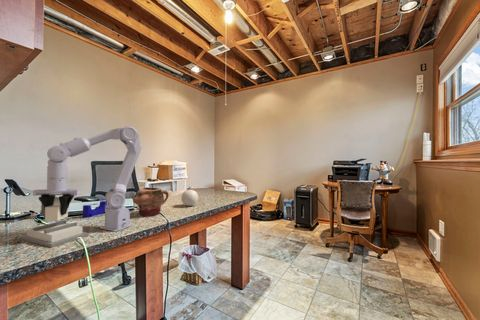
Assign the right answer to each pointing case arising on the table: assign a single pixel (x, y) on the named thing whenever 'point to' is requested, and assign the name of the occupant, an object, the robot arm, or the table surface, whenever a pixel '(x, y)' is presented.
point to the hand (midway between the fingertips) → (56, 214)
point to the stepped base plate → (54, 234)
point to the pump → (54, 213)
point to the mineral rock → (56, 201)
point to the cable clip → (98, 210)
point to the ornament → (189, 197)
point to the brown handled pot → (150, 201)
